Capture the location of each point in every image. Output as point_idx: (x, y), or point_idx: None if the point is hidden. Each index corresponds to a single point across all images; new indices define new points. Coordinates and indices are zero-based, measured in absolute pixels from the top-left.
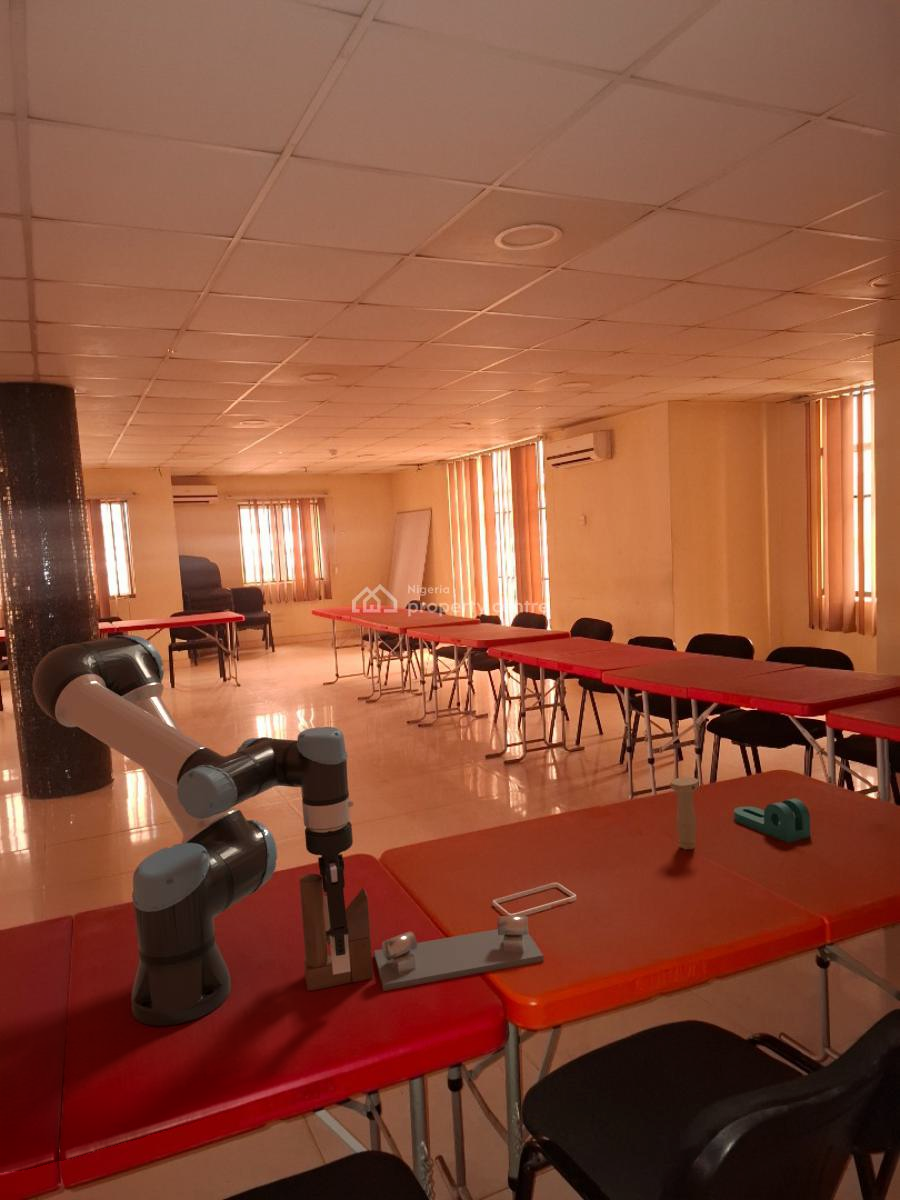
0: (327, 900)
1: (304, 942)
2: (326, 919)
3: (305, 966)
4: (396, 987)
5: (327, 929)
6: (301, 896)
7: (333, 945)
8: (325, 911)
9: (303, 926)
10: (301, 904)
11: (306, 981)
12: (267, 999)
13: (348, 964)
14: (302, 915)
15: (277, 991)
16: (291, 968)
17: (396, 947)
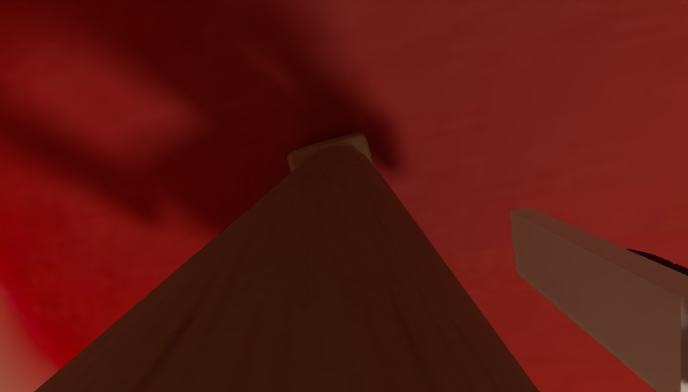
0: (642, 298)
1: (312, 157)
2: (548, 232)
3: (321, 145)
4: None
5: (517, 218)
6: (137, 305)
7: None
8: (578, 248)
9: (295, 172)
10: (260, 212)
11: (305, 146)
12: (268, 22)
13: None
14: (281, 186)
15: (311, 47)
16: (442, 66)
17: None
